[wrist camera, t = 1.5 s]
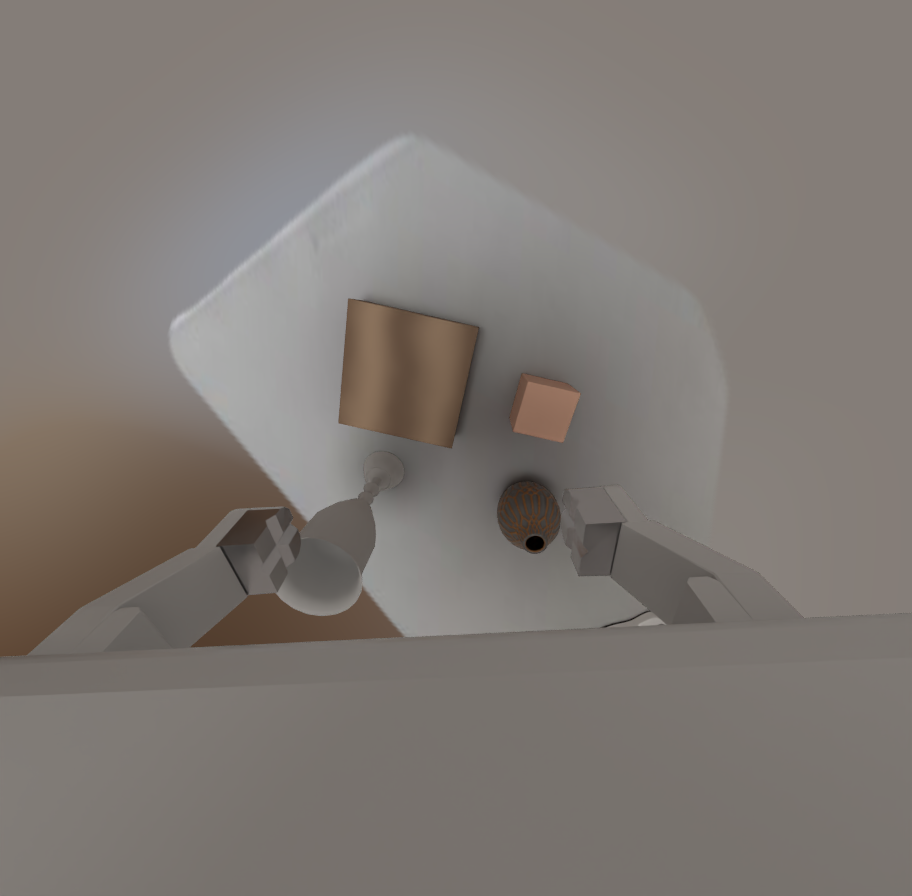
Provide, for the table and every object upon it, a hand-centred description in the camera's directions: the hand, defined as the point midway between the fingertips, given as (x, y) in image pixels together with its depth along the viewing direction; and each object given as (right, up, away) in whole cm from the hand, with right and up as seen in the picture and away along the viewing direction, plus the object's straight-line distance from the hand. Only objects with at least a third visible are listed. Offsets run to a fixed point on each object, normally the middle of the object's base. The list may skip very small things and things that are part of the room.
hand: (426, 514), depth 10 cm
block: (+10, +7, +26) cm, 29 cm away
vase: (+9, -4, +31) cm, 32 cm away
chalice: (-8, -1, +31) cm, 32 cm away
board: (-4, +10, +26) cm, 28 cm away
